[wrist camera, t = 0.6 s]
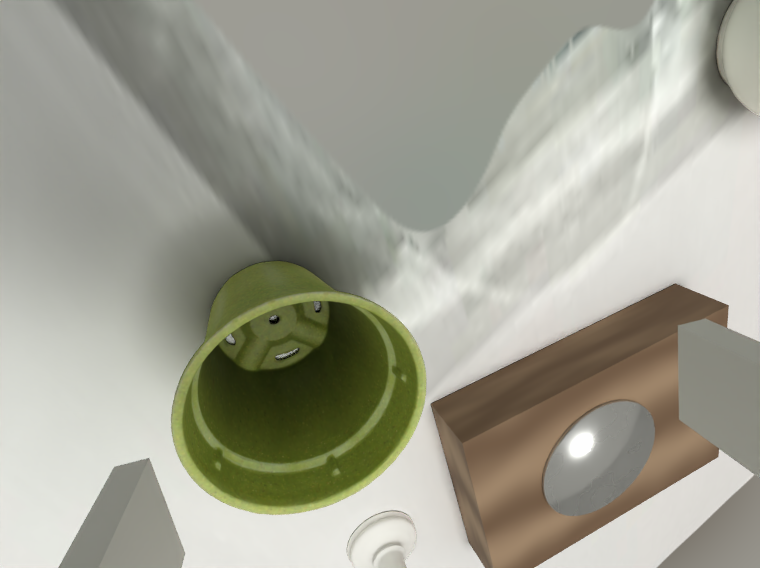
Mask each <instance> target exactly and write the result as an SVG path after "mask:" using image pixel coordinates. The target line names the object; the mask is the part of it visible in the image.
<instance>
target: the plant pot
mask: <svg viewBox="0 0 760 568" xmlns="http://www.w3.org/2000/svg"><path fill="white" fill-rule="evenodd" d="M313 301H320V302H321V310H320V312H319V313H316V312H315V307H314V302H313ZM274 315H276V316H278V317H279V322H278V323H276V324H270V322H269V319H270V317H272V316H274ZM229 334H231V335H232V336H233V338H234V339H235V341H236V344H235V345H231V344H229V343H228V342H227V341H226V340H225V338H226V337H227V336H228V335H229ZM296 348H299V351H298V353H296V354H295V355H293V356H291V357H288V358H286V359H283V360H276V358H275V356H277V355H280V354H283V353H284V354H285V353H288V352H290V351H293V350H294V349H296ZM425 396H426V370H425V365H424V361H423V358H422V355H421V352H420V349H419V347H418V345H417V343H416V341H415V339H414V338H413V336H412V335H411V333H410V332H409V331H408V329H407V328H406V327H405V326H404V325H403V324H402V323H401V322H400V321H399V320H398V319H397V318H396V317H395V316H394V315H392V314H391V313H390V312H388V311H387V310H386V309H384V308H383V307H381V306H379V305H378V304H376V303H374V302H372V301H370V300H367V299H365V298H363V297H360V296H357V295H353V294H350V293H345V292H339V291H335V290H334V289H333V288H331V287H330V286H329V285H327V284H326V283H324V282H323V281H322V280H321V279H319V278H318V277H317V276H316V275H314V274H313V273H312V272H310V271H308V270H307V269H305V268H303V267H301V266H298V265H295V264H292V263H289V262H283V261H269V262H261V263H257V264H254V265H251V266H249V267H246V268H245V269H243V270H241V271H239V272H238V273H236V274H235V275H233V276H232V277H231V278H230V279H229V280H228V281H227V282H226V283H225V284H224V285H223V287H222V288H221V290H220V291H219V293H218V294H217V296H216V298H215V300H214V302H213V305H212V307H211V311H210V316H209V321H208V326H207V332H206V337H205V341H204V343H203V344H202V345H201V346H200V348H199V349H198V350H197V351H196V353H195V354H194V355H193V357H192V358H191V360H190V361H189V363H188V365H187V366H186V368H185V370H184V372H183V374H182V376H181V378H180V381H179V384H178V386H177V390H176V393H175V397H174V401H173V406H172V414H171V429H172V437H173V442H174V445H175V449H176V452H177V454H178V457H179V459H180V461H181V463H182V465H183V466H184V468H185V469H186V471H187V472H188V474H189V475H190V477H191V478H192V479H193V480H194V481H195V482H196V483H197V484H198V485H199V486H200V487H201V488H202V489H203V490H204V491H205V492H207V493H208V494H210V495H211V496H213V497H215V498H216V499H218V500H219V501H221V502H223V503H226V504H228V505H230V506H232V507H235V508H238V509H242V510H246V511H249V512H253V513H257V514H270V515H284V514H293V513H301V512H306V511H311V510H315V509H319V508H322V507H326V506H329V505H332V504H334V503H336V502H339V501H341V500H343V499H345V498H347V497H349V496H351V495H353V494H355V493H356V492H358V491H360V490H361V489H363V488H364V487H366V486H367V485H369V484H370V483H371V482H372V481H373V480H375V479H376V478H377V477H378V476H380V475H381V474H382V473H383V472H384V471H385V470H386V469H387V468H388V467H389V466H390V465H391V464H392V463H393V462H394V461H395V460H396V458H397V457H398V456H399V454H400V453H401V452H402V450H403V449H404V448H405V447H406V445H407V443H408V442H409V440H410V439H411V437H412V435H413V433H414V431H415V429H416V427H417V424H418V422H419V419H420V417H421V414H422V411H423V407H424V403H425Z"/></svg>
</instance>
